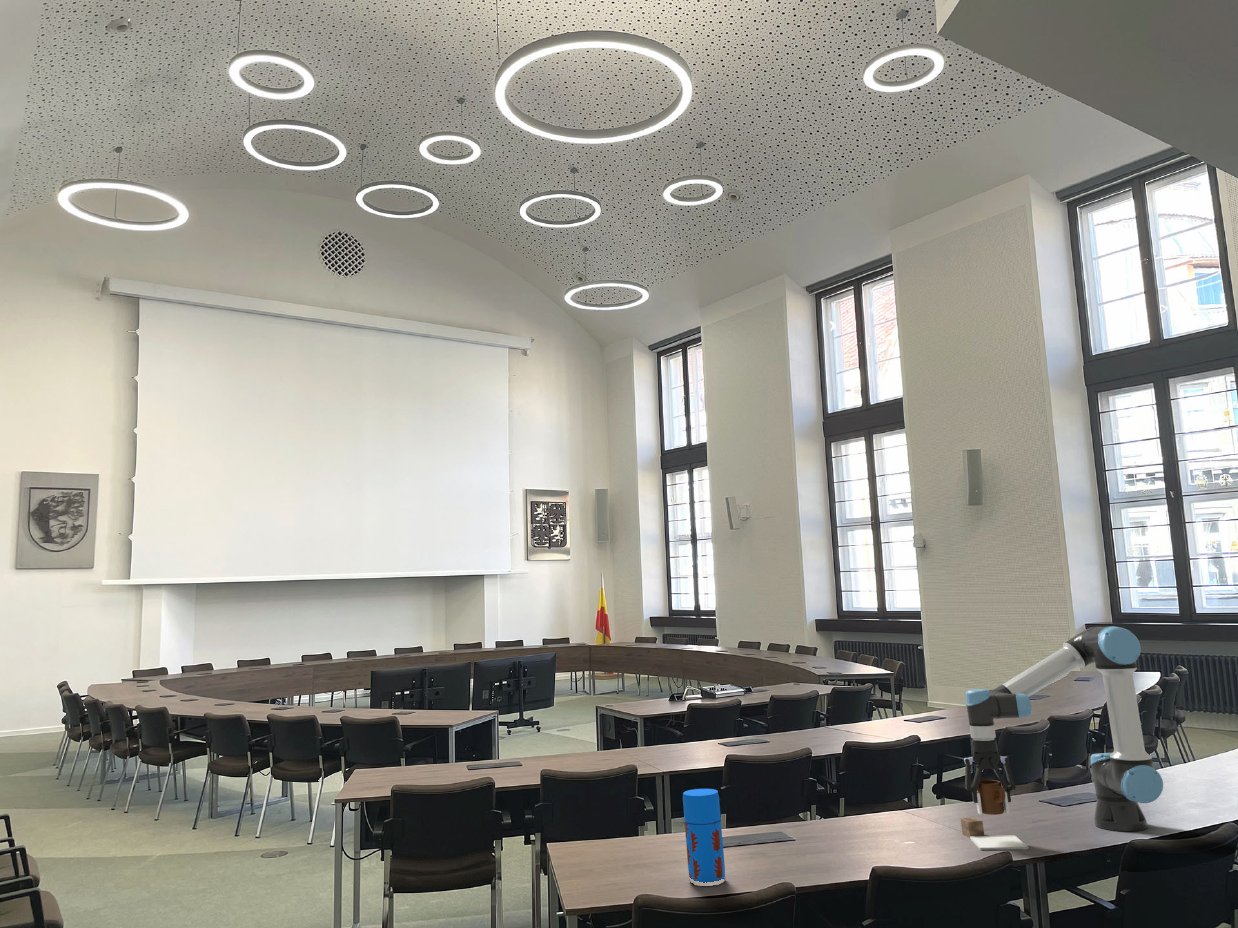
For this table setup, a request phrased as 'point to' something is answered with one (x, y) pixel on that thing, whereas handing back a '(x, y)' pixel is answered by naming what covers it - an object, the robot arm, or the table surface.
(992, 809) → the mug
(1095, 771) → the robot arm
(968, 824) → the walnut block
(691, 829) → the thermos
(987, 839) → the felt mat
